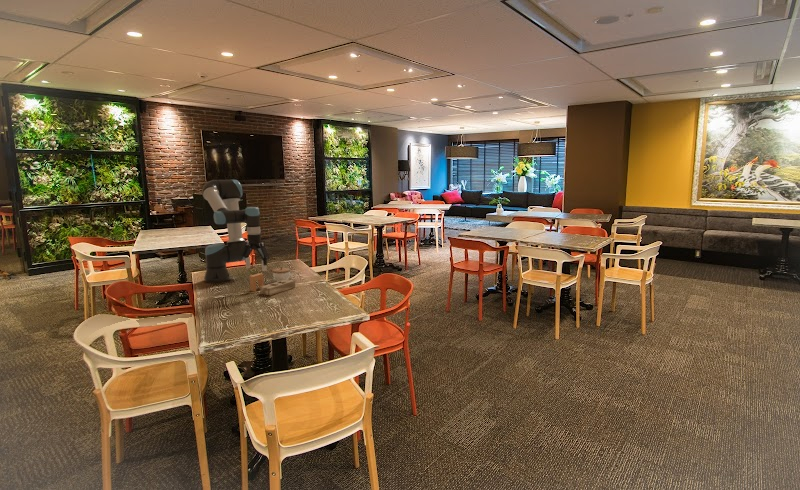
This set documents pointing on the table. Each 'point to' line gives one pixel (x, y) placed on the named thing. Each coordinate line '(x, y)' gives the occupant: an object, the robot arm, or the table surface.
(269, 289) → the brown wooden block
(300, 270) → the table surface
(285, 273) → the lidded jar
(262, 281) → the wooden arch block
